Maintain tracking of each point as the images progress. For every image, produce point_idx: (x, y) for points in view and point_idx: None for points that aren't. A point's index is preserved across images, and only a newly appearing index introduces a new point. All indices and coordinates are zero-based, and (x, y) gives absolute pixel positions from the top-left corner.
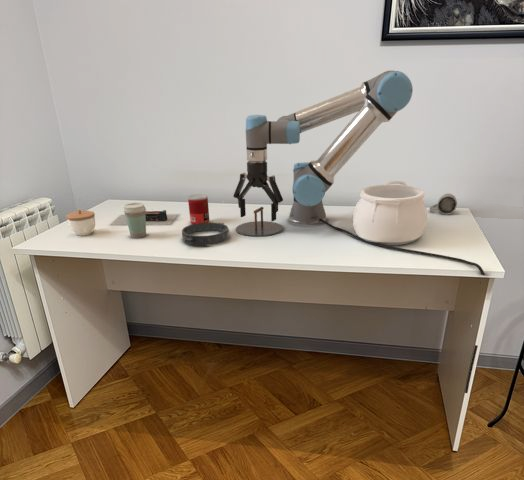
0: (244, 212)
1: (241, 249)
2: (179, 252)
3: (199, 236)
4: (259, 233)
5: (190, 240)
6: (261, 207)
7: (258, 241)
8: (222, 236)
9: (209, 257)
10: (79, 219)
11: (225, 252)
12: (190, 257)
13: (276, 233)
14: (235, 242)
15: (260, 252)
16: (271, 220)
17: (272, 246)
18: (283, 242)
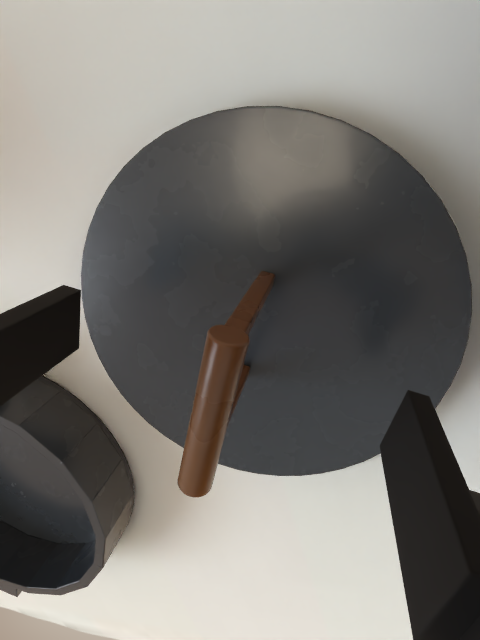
0: (57, 322)
1: (246, 589)
2: None
3: (29, 592)
4: (288, 446)
5: (17, 595)
6: (224, 376)
7: (304, 505)
8: (112, 550)
9: (153, 635)
10: None
11: (190, 606)
12: (91, 624)
13: None
14: (183, 509)
15: (348, 630)
16: (381, 449)
17: None
18: None
